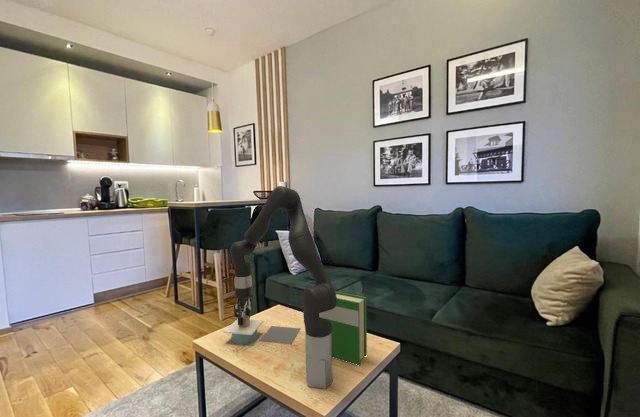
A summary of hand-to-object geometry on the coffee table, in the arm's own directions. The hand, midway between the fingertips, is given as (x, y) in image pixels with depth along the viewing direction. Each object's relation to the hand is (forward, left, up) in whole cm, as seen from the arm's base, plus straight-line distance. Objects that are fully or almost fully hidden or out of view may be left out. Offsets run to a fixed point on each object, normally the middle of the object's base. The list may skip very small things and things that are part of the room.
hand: (244, 321), depth 130 cm
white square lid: (0, 0, -2) cm, 2 cm away
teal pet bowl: (0, 0, -8) cm, 8 cm away
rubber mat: (+6, -15, -8) cm, 18 cm away
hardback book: (-5, -45, -8) cm, 46 cm away
